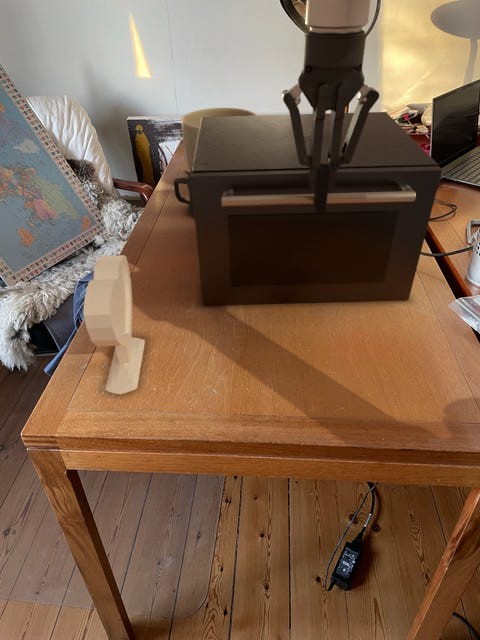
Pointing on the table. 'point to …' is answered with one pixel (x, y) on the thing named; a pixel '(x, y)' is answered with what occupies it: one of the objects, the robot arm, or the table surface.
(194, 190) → the oven door
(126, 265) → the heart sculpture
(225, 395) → the table surface
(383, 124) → the oven
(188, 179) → the mug
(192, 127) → the planter
